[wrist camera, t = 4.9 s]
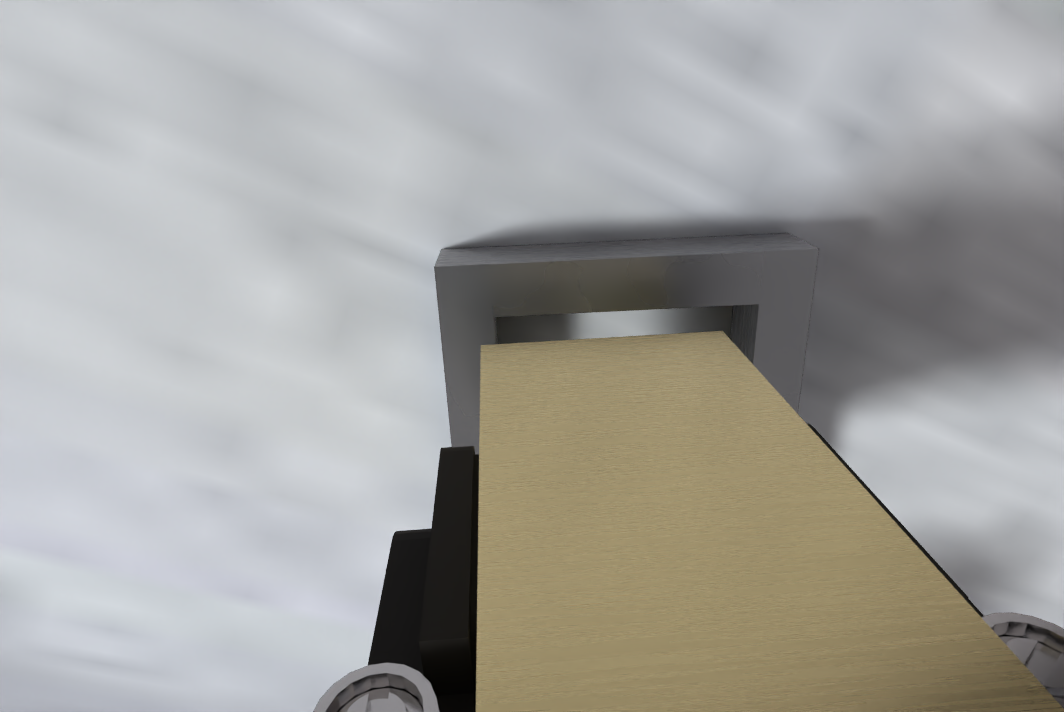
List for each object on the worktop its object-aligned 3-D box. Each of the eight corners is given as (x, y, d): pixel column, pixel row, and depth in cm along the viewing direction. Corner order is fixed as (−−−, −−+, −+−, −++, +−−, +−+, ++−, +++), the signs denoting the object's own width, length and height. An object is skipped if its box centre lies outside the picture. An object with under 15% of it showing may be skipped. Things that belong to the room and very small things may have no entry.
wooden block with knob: (480, 345, 12) (475, 791, 5) (722, 330, 12) (1088, 735, 5) (495, 541, 14) (508, 1086, 6) (705, 526, 14) (952, 1037, 7)
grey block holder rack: (441, 249, 15) (433, 269, 13) (788, 232, 15) (823, 250, 13) (503, 924, 25) (503, 985, 23) (713, 910, 25) (728, 969, 23)
